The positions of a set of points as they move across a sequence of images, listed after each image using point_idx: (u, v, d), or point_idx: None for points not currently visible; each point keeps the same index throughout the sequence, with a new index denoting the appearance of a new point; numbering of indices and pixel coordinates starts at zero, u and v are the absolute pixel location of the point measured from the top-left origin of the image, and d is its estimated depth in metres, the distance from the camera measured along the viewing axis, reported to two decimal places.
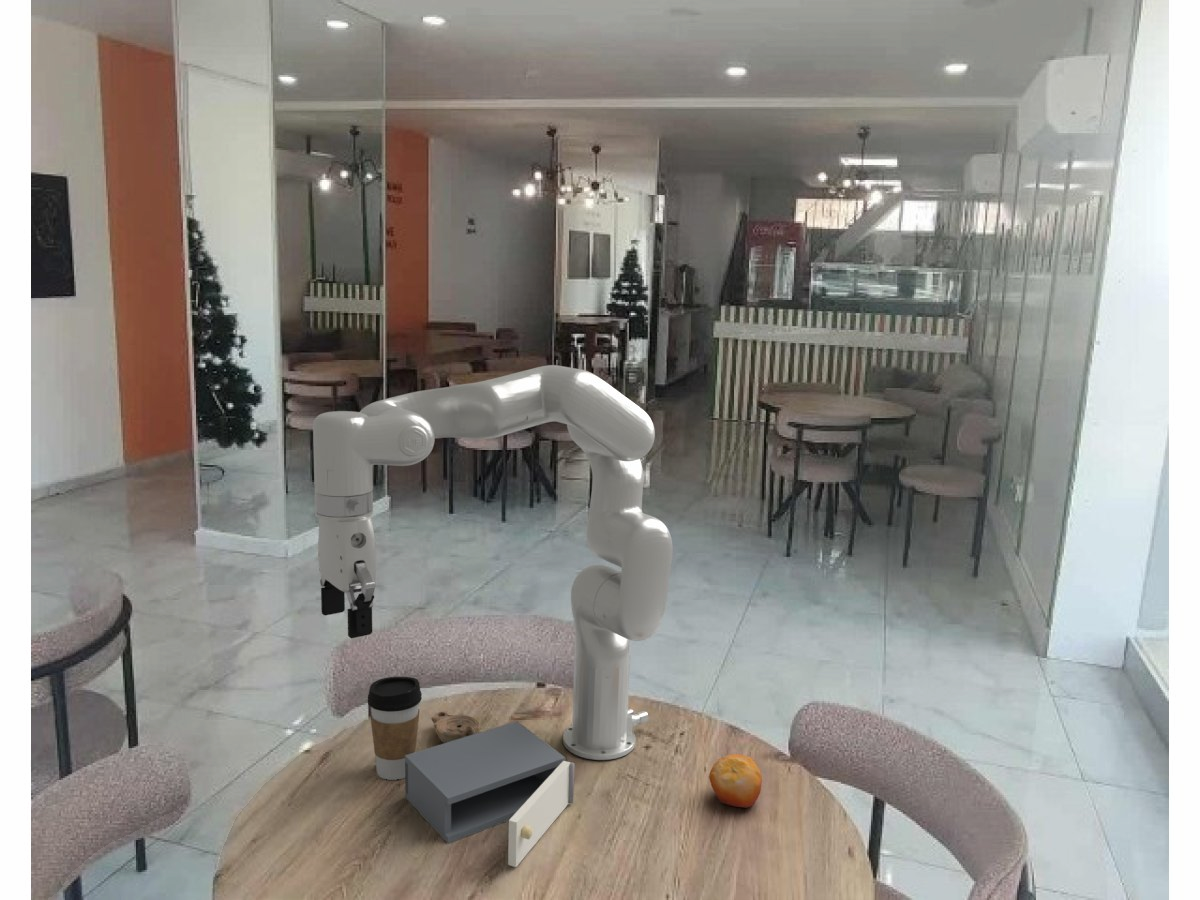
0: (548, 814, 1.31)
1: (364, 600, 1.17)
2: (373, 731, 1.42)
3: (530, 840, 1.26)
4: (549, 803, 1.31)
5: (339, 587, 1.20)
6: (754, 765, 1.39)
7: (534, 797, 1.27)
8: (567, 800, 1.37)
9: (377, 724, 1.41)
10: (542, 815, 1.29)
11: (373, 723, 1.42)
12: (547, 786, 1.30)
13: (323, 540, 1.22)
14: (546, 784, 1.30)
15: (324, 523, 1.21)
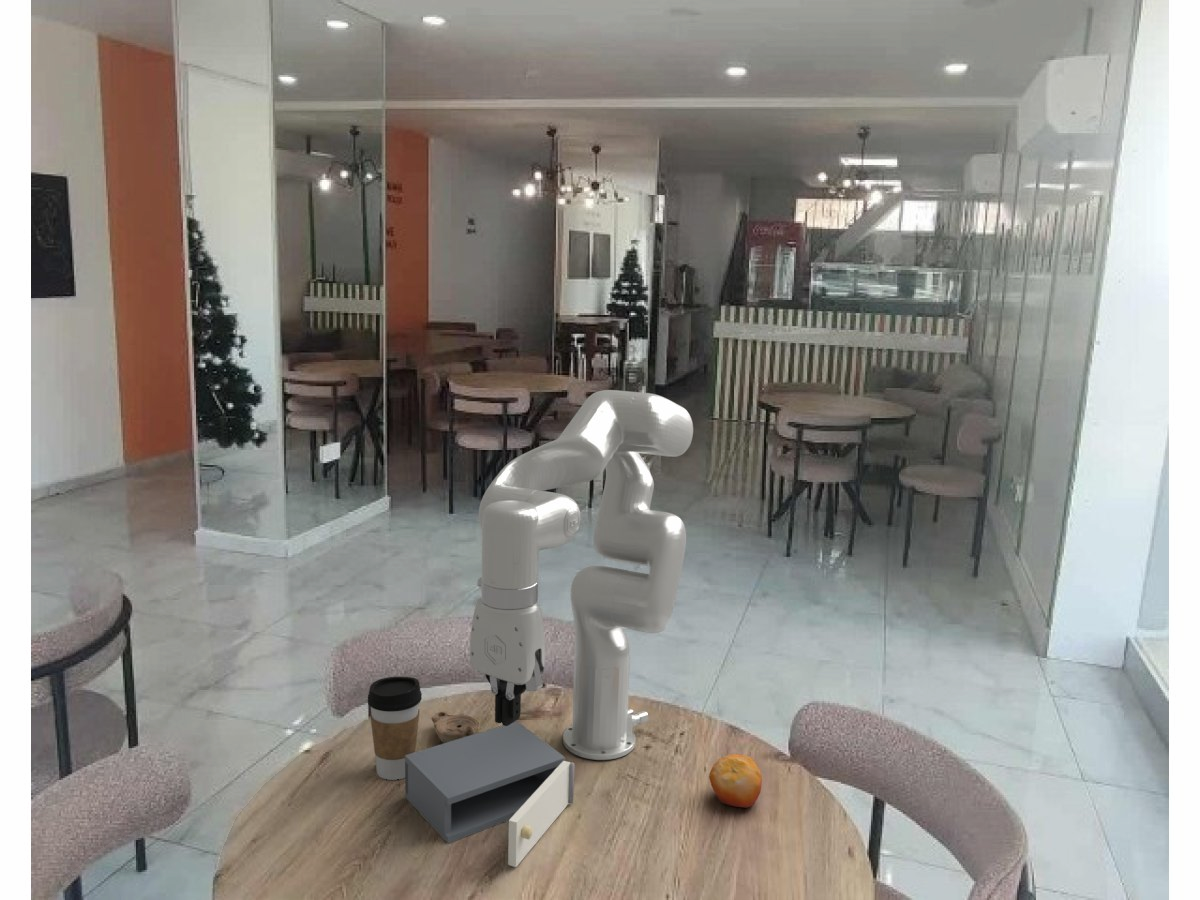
0: (548, 814, 1.31)
1: None
2: (373, 731, 1.42)
3: (530, 840, 1.26)
4: (549, 803, 1.31)
5: None
6: (754, 765, 1.39)
7: (534, 797, 1.27)
8: (567, 800, 1.37)
9: (377, 724, 1.41)
10: (542, 815, 1.29)
11: (373, 723, 1.42)
12: (547, 786, 1.30)
13: None
14: (546, 784, 1.30)
15: None
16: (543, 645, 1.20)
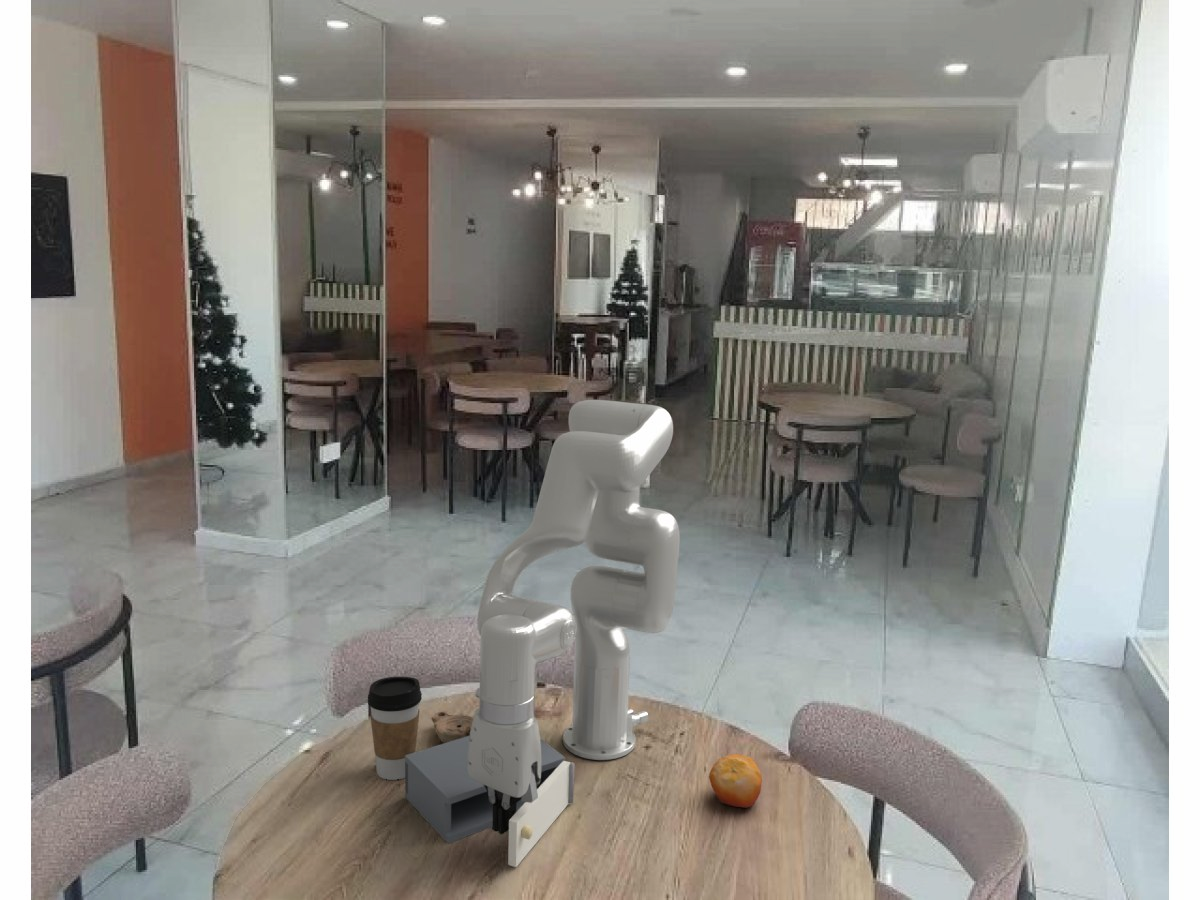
0: (548, 814, 1.31)
1: None
2: (373, 731, 1.42)
3: (530, 840, 1.26)
4: (549, 803, 1.31)
5: None
6: (754, 765, 1.39)
7: None
8: (567, 800, 1.37)
9: (377, 724, 1.41)
10: (542, 815, 1.29)
11: (373, 723, 1.42)
12: (547, 786, 1.30)
13: None
14: (546, 784, 1.30)
15: None
16: (539, 757, 1.23)
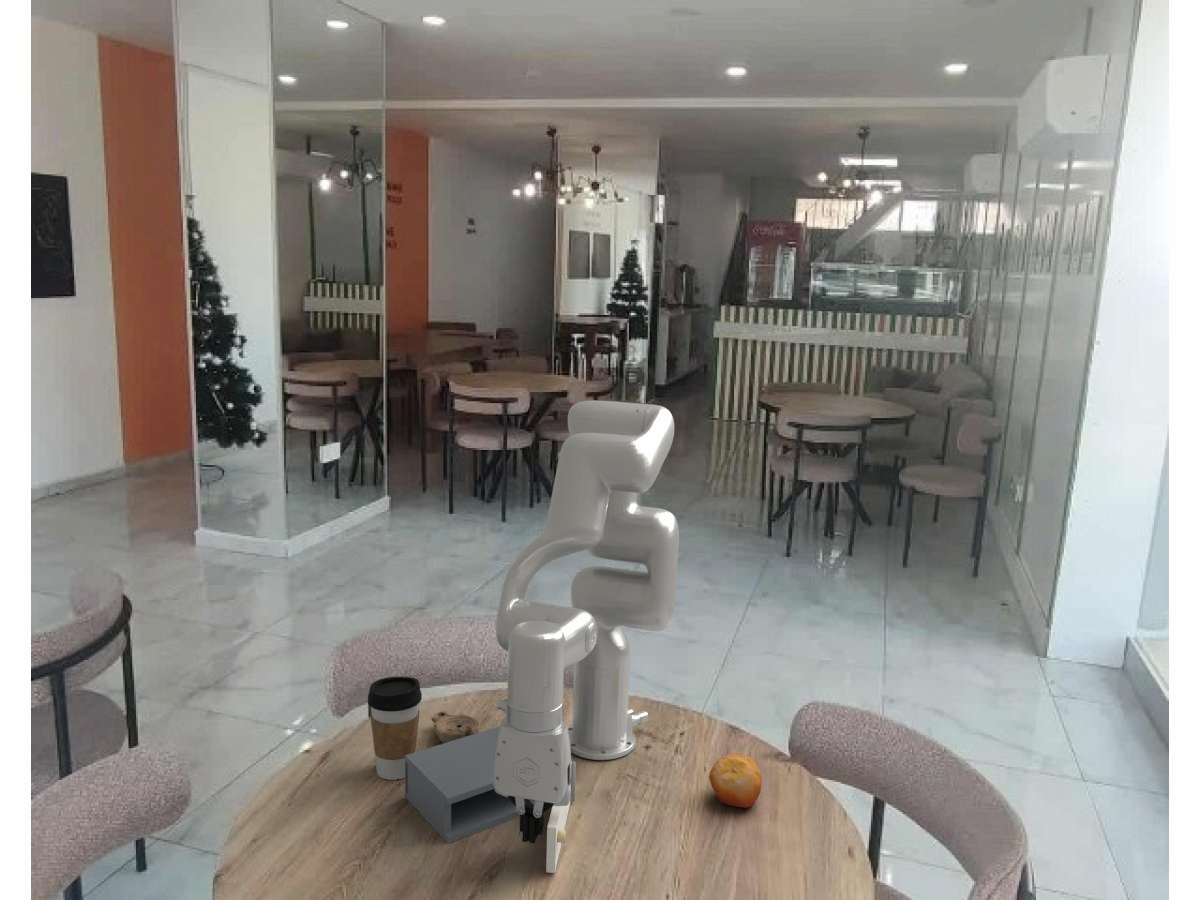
0: (564, 815, 1.31)
1: None
2: (373, 731, 1.42)
3: (559, 844, 1.25)
4: None
5: None
6: (754, 765, 1.39)
7: None
8: None
9: (377, 724, 1.41)
10: (563, 817, 1.29)
11: (373, 723, 1.42)
12: None
13: None
14: None
15: None
16: (570, 759, 1.23)
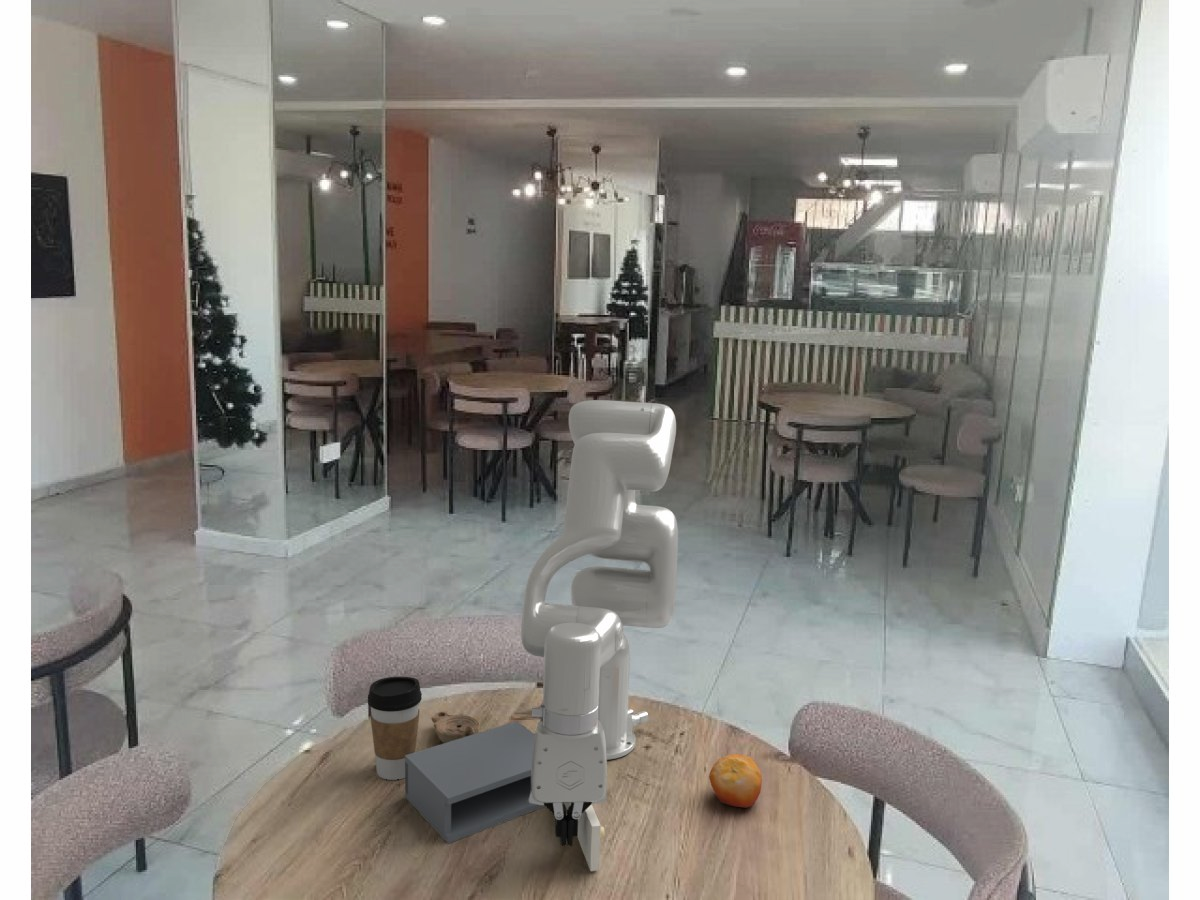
0: None
1: None
2: (373, 731, 1.42)
3: None
4: None
5: None
6: (754, 765, 1.39)
7: None
8: None
9: (377, 724, 1.41)
10: None
11: (373, 723, 1.42)
12: None
13: None
14: None
15: None
16: None
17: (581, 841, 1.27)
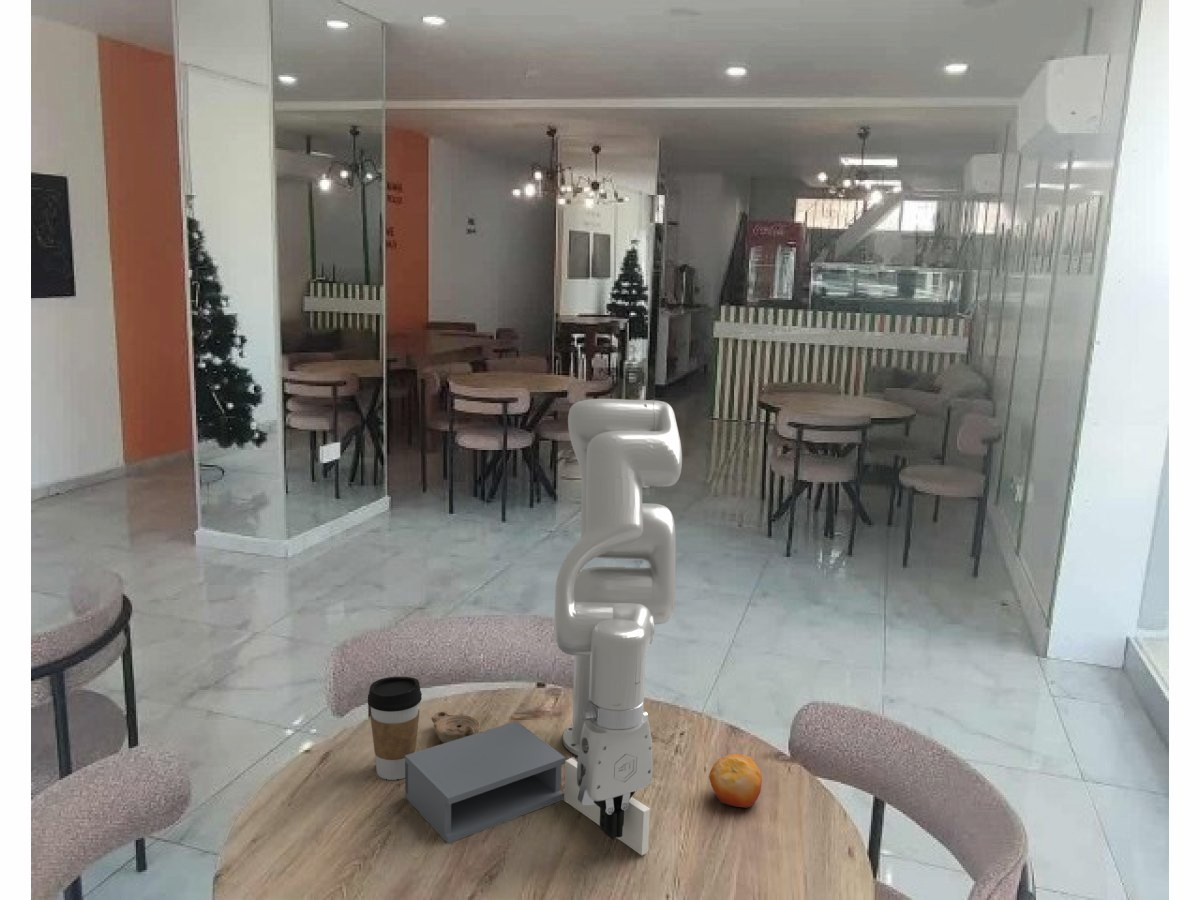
0: None
1: None
2: (373, 731, 1.42)
3: None
4: None
5: None
6: (754, 765, 1.39)
7: None
8: None
9: (377, 724, 1.41)
10: None
11: (373, 723, 1.42)
12: None
13: None
14: None
15: None
16: None
17: None
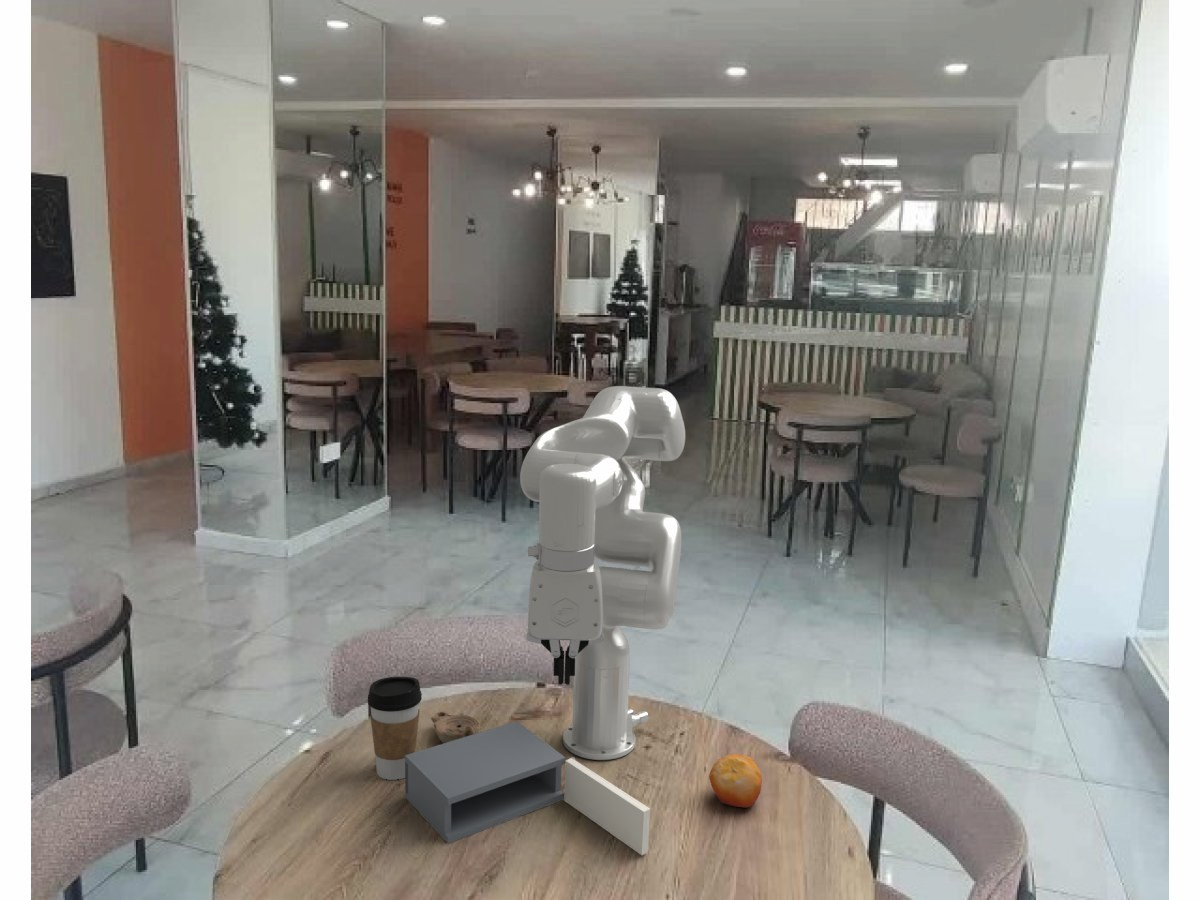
0: None
1: None
2: (373, 731, 1.42)
3: None
4: None
5: None
6: (754, 765, 1.39)
7: (616, 790, 1.30)
8: None
9: (377, 724, 1.41)
10: None
11: (373, 723, 1.42)
12: (602, 779, 1.32)
13: None
14: (599, 779, 1.32)
15: None
16: None
17: (616, 831, 1.30)
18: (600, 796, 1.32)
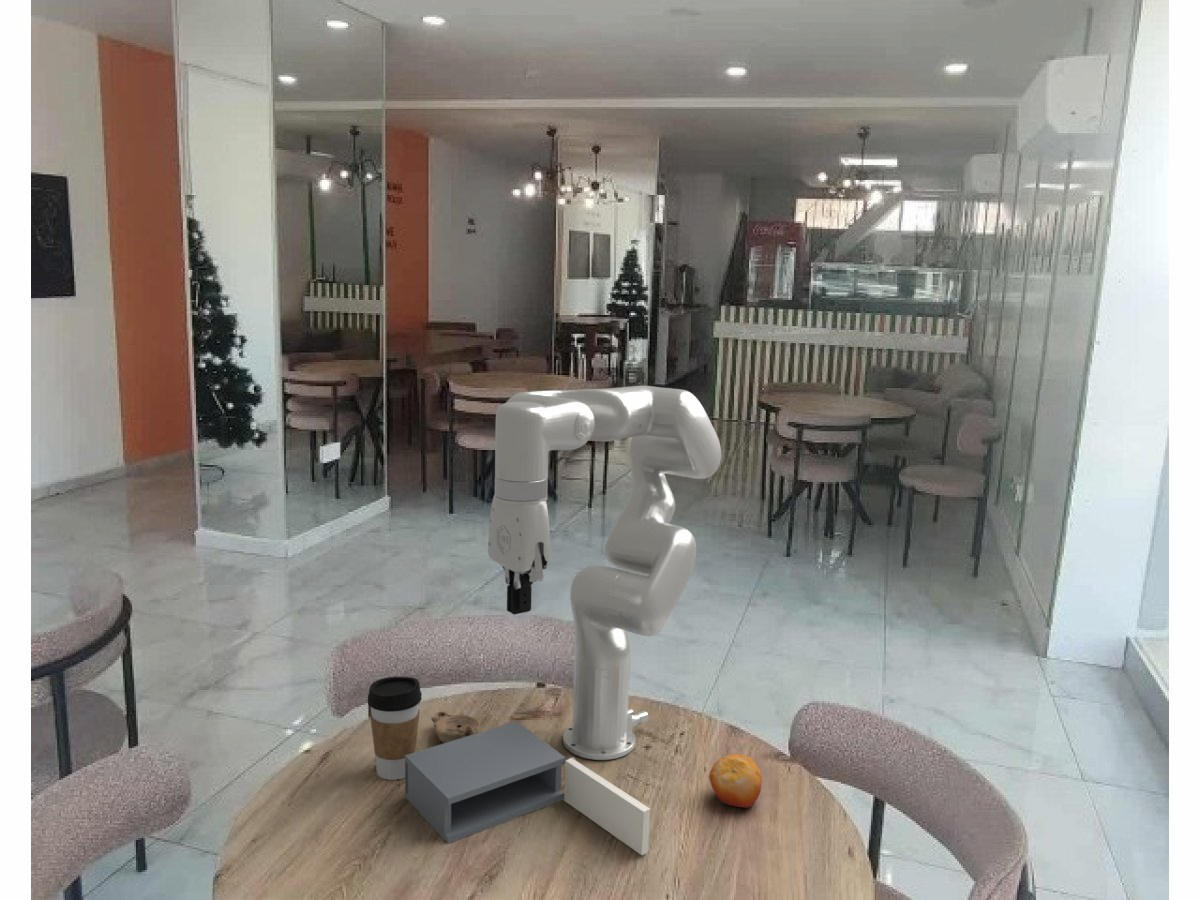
0: None
1: None
2: (373, 731, 1.42)
3: None
4: None
5: None
6: (754, 765, 1.39)
7: (616, 790, 1.30)
8: None
9: (377, 724, 1.41)
10: None
11: (373, 723, 1.42)
12: (602, 779, 1.32)
13: None
14: (599, 779, 1.32)
15: None
16: (546, 540, 1.27)
17: (616, 831, 1.30)
18: (600, 796, 1.32)
